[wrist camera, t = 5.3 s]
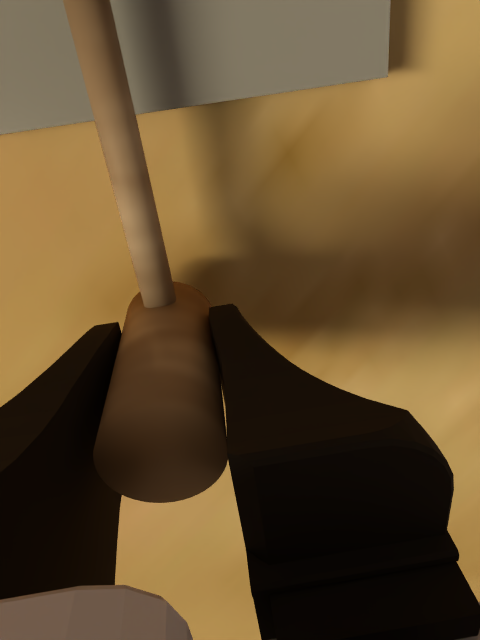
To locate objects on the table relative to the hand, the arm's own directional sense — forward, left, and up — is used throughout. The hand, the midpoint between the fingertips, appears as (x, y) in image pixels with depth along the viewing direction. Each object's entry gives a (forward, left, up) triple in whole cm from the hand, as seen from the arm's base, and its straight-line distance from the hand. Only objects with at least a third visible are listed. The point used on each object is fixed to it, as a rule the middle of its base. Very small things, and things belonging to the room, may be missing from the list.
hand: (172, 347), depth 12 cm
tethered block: (0, -6, -1) cm, 6 cm away
